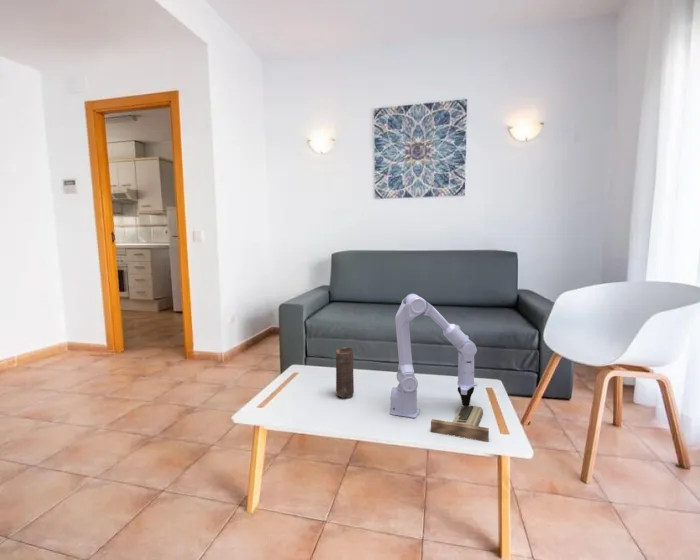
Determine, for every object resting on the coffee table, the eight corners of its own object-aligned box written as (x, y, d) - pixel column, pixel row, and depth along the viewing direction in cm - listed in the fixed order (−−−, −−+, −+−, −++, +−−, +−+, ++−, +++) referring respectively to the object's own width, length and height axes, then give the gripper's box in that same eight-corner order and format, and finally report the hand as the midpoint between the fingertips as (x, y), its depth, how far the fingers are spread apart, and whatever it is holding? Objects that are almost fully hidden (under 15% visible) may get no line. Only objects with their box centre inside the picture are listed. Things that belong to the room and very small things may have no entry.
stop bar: (430, 431, 125) (430, 421, 124) (432, 428, 127) (431, 419, 126) (488, 441, 118) (488, 431, 117) (488, 438, 119) (488, 428, 119)
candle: (357, 396, 155) (356, 349, 153) (343, 401, 151) (342, 352, 149) (346, 391, 161) (345, 345, 159) (332, 395, 157) (331, 348, 155)
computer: (460, 410, 140) (460, 402, 140) (483, 415, 137) (483, 406, 136) (450, 429, 127) (450, 420, 126) (475, 434, 123) (475, 425, 122)
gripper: (475, 378, 131) (475, 416, 132) (478, 366, 144) (478, 400, 145) (454, 376, 133) (454, 413, 135) (460, 364, 147) (459, 397, 148)
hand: (465, 406), depth 140 cm, fingers closed
